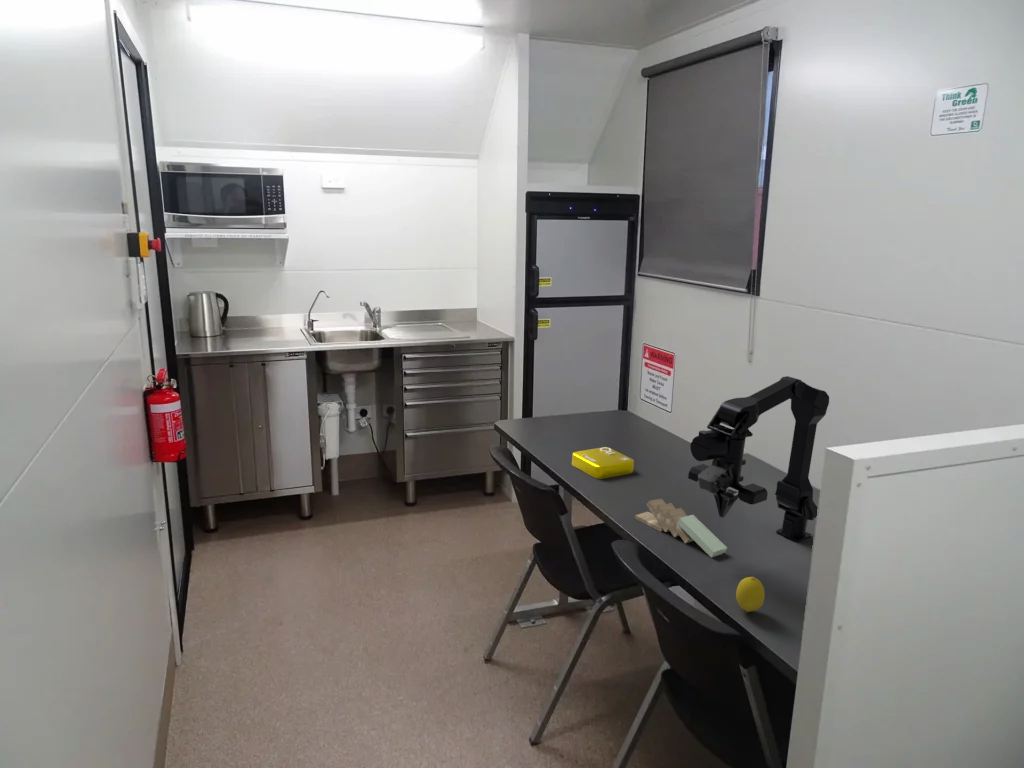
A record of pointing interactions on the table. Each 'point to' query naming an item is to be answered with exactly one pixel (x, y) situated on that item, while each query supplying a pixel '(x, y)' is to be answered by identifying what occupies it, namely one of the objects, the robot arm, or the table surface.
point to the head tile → (702, 536)
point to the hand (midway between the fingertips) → (722, 516)
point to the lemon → (750, 594)
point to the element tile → (602, 462)
